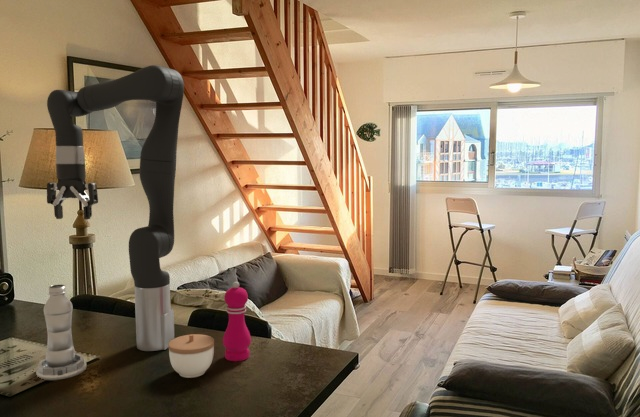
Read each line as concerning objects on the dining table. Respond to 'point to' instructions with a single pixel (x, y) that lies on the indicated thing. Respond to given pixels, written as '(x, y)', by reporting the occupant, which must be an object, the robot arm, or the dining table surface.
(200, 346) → the lidded jar
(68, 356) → the plastic bottle
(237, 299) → the pepper mill
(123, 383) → the dining table surface
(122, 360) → the dining table surface
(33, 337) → the dining table surface
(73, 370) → the tray
